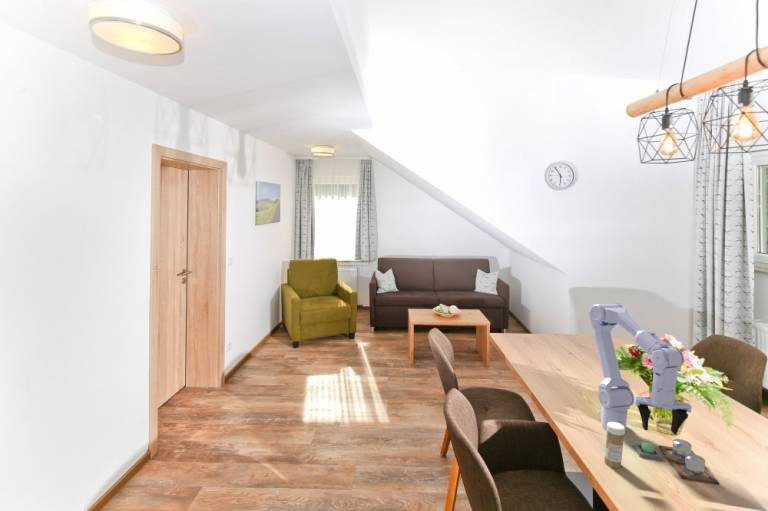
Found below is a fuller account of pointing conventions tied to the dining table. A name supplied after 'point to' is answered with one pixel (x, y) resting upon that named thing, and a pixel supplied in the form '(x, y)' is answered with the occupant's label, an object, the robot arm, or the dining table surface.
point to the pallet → (674, 463)
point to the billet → (694, 465)
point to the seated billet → (681, 449)
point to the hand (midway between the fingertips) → (659, 430)
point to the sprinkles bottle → (614, 444)
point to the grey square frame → (647, 455)
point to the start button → (647, 447)
